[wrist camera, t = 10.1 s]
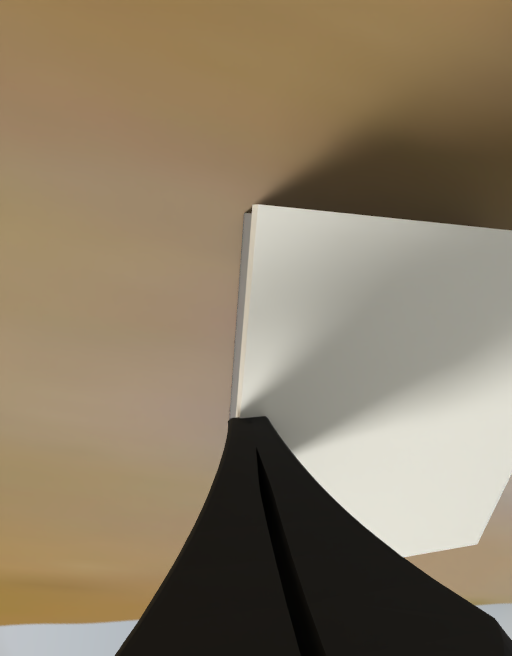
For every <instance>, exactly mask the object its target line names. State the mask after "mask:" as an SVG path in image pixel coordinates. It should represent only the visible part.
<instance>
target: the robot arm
mask: <svg viewBox="0 0 512 656" xmlns="http://www.w3.org/2000/svg"><path fill="white" fill-rule="evenodd" d="M115 656H512V640H511V639H510V638H509V636H508V635H507V634H506V633H505V631H504V630H503V629H502V627H501V626H500V625H499V623H498V622H497V621H496V620H495V618H493V617H492V616H490V615H489V614H487V613H486V612H484V611H482V610H481V609H479V608H478V607H476V606H475V605H473V604H472V603H470V602H468V601H467V600H465V599H464V598H462V597H461V596H459V595H457V594H456V593H454V592H453V591H451V590H450V589H448V588H447V587H445V586H443V585H442V584H440V583H439V582H437V581H436V580H434V579H433V578H431V577H430V576H429V575H427V574H426V573H424V572H423V571H422V570H420V569H419V568H417V567H416V566H415V565H413V564H412V563H410V562H409V561H408V560H406V559H405V558H403V557H402V556H401V555H399V554H398V553H397V552H396V551H394V550H393V549H392V548H391V547H389V546H388V545H387V544H386V543H384V542H383V541H382V540H380V539H379V538H378V537H377V536H375V535H374V534H373V533H372V532H370V531H369V530H368V529H367V528H365V527H364V526H363V525H362V524H361V523H360V522H359V521H357V520H356V519H355V518H354V517H353V516H352V515H351V514H350V513H348V512H347V511H346V510H345V509H344V508H343V507H342V506H341V505H340V504H339V503H338V502H337V501H336V500H335V499H334V498H333V497H332V496H331V495H330V494H329V493H328V492H327V491H326V490H325V489H324V488H323V487H322V486H321V485H320V484H319V483H318V482H317V481H316V480H315V479H314V478H313V476H312V475H311V474H310V473H309V472H308V471H307V470H306V469H305V467H304V466H303V465H302V464H301V463H300V461H299V460H298V459H297V458H296V457H295V455H294V454H293V453H292V452H291V450H290V449H289V448H288V446H287V445H286V444H285V442H284V441H283V440H282V438H281V437H280V436H279V434H278V433H277V431H276V430H275V428H274V427H273V425H272V424H271V422H270V421H269V419H268V418H267V417H266V416H260V417H250V418H239V417H236V418H231V419H230V420H229V421H228V434H227V439H226V443H225V448H224V451H223V455H222V458H221V461H220V465H219V468H218V471H217V473H216V476H215V479H214V481H213V484H212V486H211V489H210V492H209V494H208V497H207V499H206V501H205V503H204V506H203V508H202V510H201V512H200V514H199V517H198V519H197V521H196V523H195V525H194V527H193V529H192V531H191V533H190V535H189V537H188V538H187V540H186V542H185V544H184V546H183V548H182V550H181V552H180V554H179V555H178V557H177V559H176V561H175V563H174V564H173V566H172V568H171V569H170V571H169V573H168V574H167V576H166V578H165V579H164V581H163V583H162V584H161V586H160V587H159V589H158V591H157V592H156V594H155V596H154V597H153V599H152V600H151V602H150V604H149V605H148V607H147V609H146V610H145V612H144V613H143V615H142V616H141V618H140V619H139V621H138V623H137V624H136V626H135V627H134V629H133V630H132V631H131V633H130V634H129V636H128V637H127V639H126V640H125V641H124V643H123V644H122V646H121V647H120V649H119V650H118V652H117V653H116V654H115Z"/></svg>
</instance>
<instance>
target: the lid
mask: <svg viewBox="0 0 512 656" xmlns="http://www.w3.org/2000/svg"><path fill="white" fill-rule="evenodd" d="M260 416H266V417H267V418H268V419H269V421H270V422H271V424H272V425H273V427H274V428H275V430H276V431H277V433H278V434H279V436H280V437H281V438H282V440H283V441H284V442H285V444H286V445H287V446H288V448H289V449H290V450H291V452H292V453H293V454H294V455H295V457H296V458H297V459H298V460H299V461H300V463H301V464H302V465H303V466H304V467H305V469H306V470H307V471H308V472H309V473H310V474H311V475H312V476H313V478H314V479H315V480H316V481H317V482H318V483H319V484H320V485H321V486H322V487H323V488H324V489H325V490H326V491H327V492H328V493H329V494H330V495H331V496H332V497H333V498H334V499H335V500H336V501H337V502H338V503H339V504H340V505H341V506H342V507H343V508H344V509H345V510H346V511H347V512H348V513H350V514H351V515H352V516H353V517H354V518H355V519H356V520H357V521H359V522H360V523H361V524H362V525H363V526H364V527H365V528H367V529H368V530H369V531H370V532H372V533H373V534H374V535H375V536H377V537H378V538H379V539H380V540H382V541H383V542H384V543H386V544H387V545H388V546H389V547H391V548H392V549H393V550H394V551H396V552H397V553H398V554H399V555H401V556H402V557H408V556H413V555H419V554H425V553H430V552H436V551H442V550H448V549H453V548H459V547H465V546H471V545H476V544H478V542H479V540H480V537H481V535H482V533H483V531H484V529H485V527H486V525H487V523H488V521H489V519H490V517H491V515H492V513H493V511H494V509H495V507H496V505H497V503H498V501H499V498H500V496H501V494H502V492H503V490H504V488H505V486H506V484H507V482H508V480H509V478H510V476H511V474H512V230H502V229H492V228H483V227H473V226H463V225H454V224H444V223H434V222H425V221H415V220H405V219H396V218H386V217H376V216H367V215H357V214H347V213H338V212H328V211H318V210H309V209H299V208H289V207H280V206H270V205H260V204H255V205H252V218H251V231H250V243H249V256H248V268H247V281H246V294H245V306H244V319H243V332H242V344H241V357H240V369H239V382H238V395H237V407H236V417H239V418H250V417H260Z"/></svg>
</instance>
